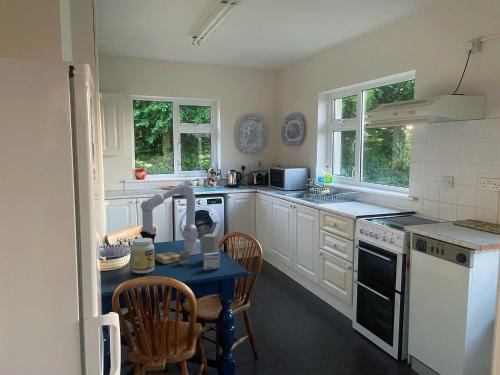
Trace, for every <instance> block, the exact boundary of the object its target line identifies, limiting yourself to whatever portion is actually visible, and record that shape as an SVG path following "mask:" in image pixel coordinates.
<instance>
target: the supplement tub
mask: <svg viewBox="0 0 500 375" xmlns="http://www.w3.org/2000/svg"><path fill="white" fill-rule="evenodd" d="M152 243H153V244H152ZM131 244H132V245H131V247H130V254H131V255H130V260H131V263H130V264H131V271H132V273H135V274H148V273H151V272H153V271H154V270H155V267H156V266H155V265H156V264H155V263H156V262H155V246H154V242H152V239H151V238H142V237H141V238H135V239H132V242H131Z"/></svg>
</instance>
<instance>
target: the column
mask: <svg viewBox="0 0 500 375" xmlns="http://www.w3.org/2000/svg"><path fill="white" fill-rule="evenodd" d="M179 254H180V261H179V264H180V265H182V266H185V265H189V264H190V255H189V252H188V251H185V250H180V251H179Z"/></svg>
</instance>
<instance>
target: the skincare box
mask: <svg viewBox="0 0 500 375" xmlns="http://www.w3.org/2000/svg"><path fill="white" fill-rule="evenodd" d="M219 238H220V236H219V234H218V233H217V234H214V233H206V234H203V235H201V245H202V260H203V262H204V256H203V254H204V253H214V252H217V253H219V261H221V255H220V254H221V253H220V250H221V249H220V239H219Z"/></svg>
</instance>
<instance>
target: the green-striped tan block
mask: <svg viewBox="0 0 500 375" xmlns="http://www.w3.org/2000/svg"><path fill="white" fill-rule="evenodd" d="M154 261H157V262H159V263H160V264H163V265H166V264H171V263H177V262H180V253H177V252H175V251H170V252H169V251H168V252H163V253H156V254H154Z"/></svg>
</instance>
